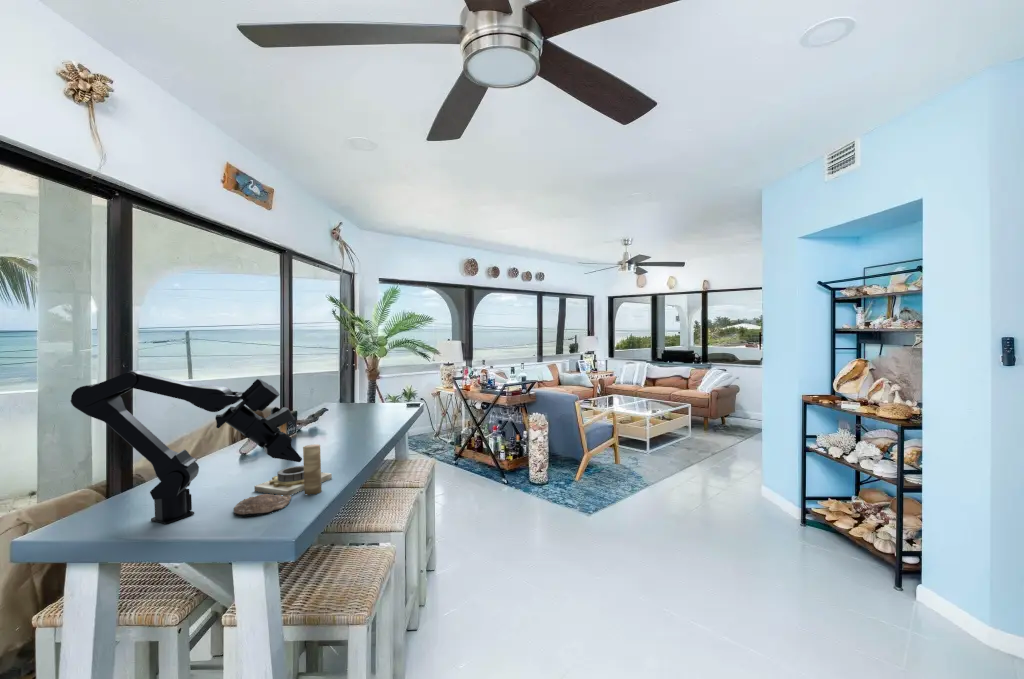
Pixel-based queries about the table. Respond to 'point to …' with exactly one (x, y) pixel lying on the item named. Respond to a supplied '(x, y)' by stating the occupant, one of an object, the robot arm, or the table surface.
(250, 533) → the table surface
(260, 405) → the robot arm
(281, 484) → the gear board
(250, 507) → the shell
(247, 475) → the table surface
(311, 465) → the oak axle
